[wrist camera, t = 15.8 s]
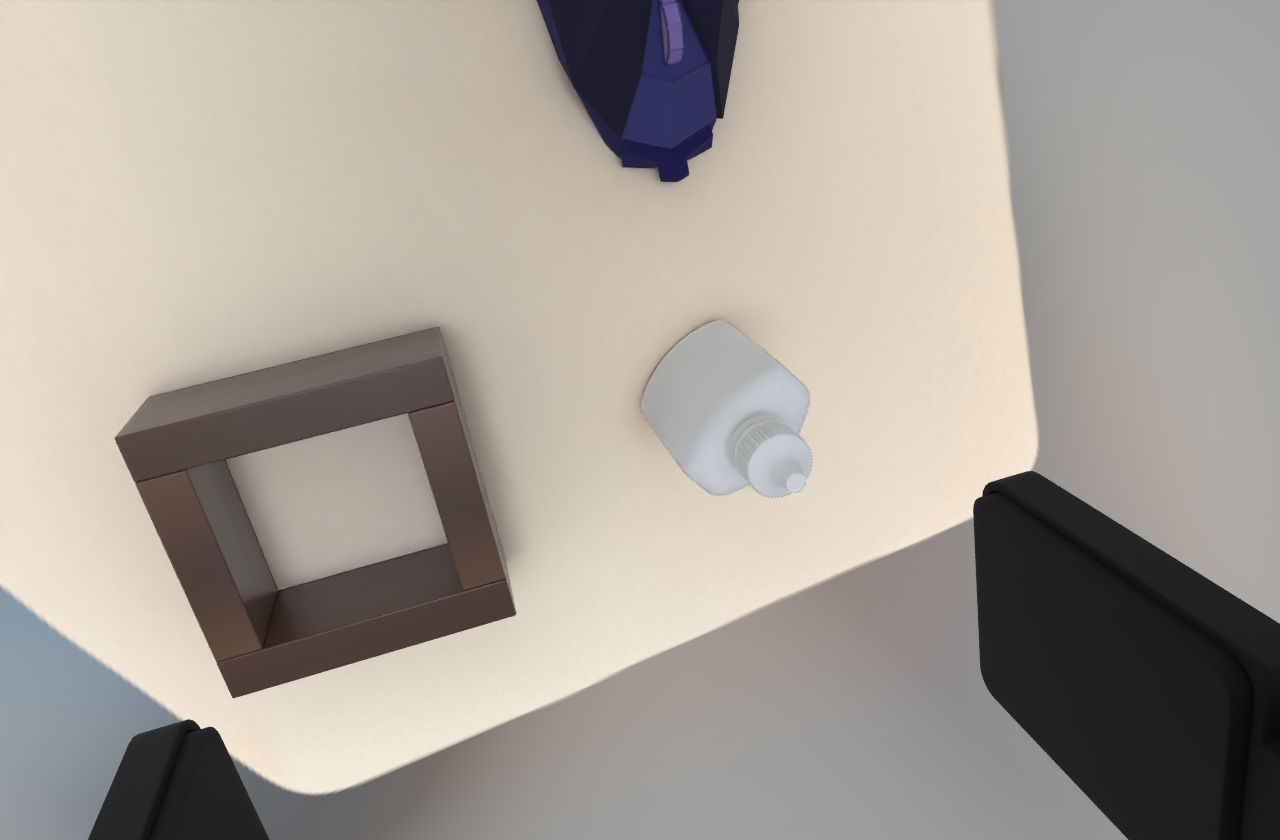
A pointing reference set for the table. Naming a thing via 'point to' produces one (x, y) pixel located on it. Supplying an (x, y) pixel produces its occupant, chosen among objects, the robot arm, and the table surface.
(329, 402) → the holder
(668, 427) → the eye dropper bottle
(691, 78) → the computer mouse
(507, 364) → the table surface
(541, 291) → the table surface
